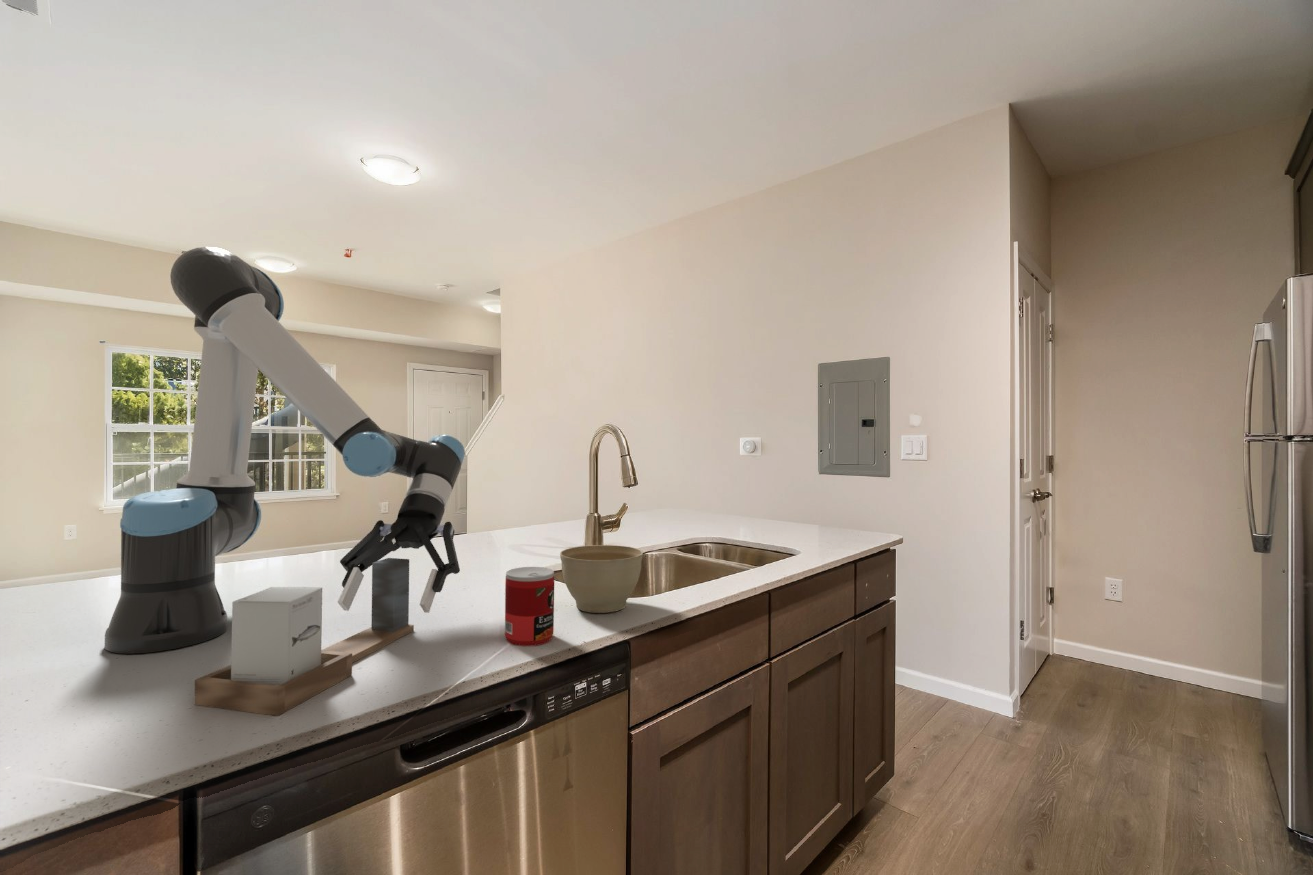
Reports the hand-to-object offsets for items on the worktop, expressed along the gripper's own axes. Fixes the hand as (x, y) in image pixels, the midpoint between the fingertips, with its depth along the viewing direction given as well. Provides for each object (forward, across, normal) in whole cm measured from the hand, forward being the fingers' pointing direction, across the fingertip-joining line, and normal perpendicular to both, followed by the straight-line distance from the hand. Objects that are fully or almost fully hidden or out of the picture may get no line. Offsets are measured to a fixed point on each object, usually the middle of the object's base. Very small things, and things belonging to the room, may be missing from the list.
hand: (383, 607), depth 94 cm
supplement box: (+17, +4, +10) cm, 20 cm away
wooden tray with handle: (+11, +2, +4) cm, 12 cm away
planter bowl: (-11, -33, -19) cm, 39 cm away
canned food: (+2, -23, -5) cm, 24 cm away
